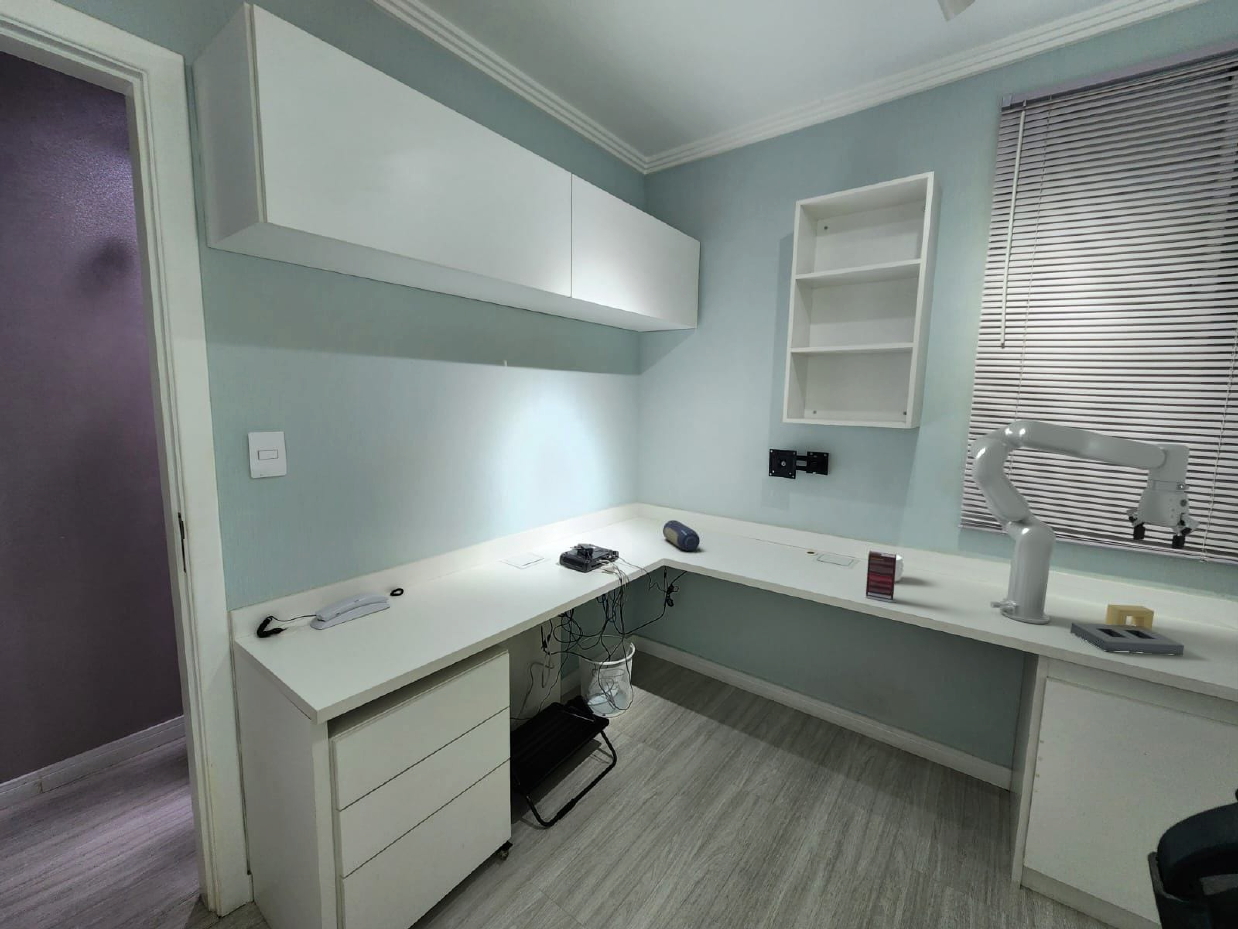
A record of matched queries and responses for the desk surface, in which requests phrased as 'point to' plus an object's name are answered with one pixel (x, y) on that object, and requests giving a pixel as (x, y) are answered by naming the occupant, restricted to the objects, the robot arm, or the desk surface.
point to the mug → (898, 568)
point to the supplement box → (881, 576)
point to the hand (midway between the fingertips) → (1157, 544)
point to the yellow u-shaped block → (1120, 613)
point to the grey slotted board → (1126, 638)
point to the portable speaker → (681, 535)
